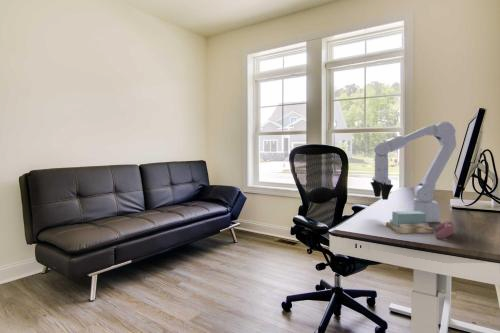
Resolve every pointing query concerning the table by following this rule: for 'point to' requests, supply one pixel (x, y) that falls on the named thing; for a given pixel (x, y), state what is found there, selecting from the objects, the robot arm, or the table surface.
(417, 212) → the light blue rectangular block
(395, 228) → the display stand
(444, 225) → the pink knobbed toy
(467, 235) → the table surface
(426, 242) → the table surface
